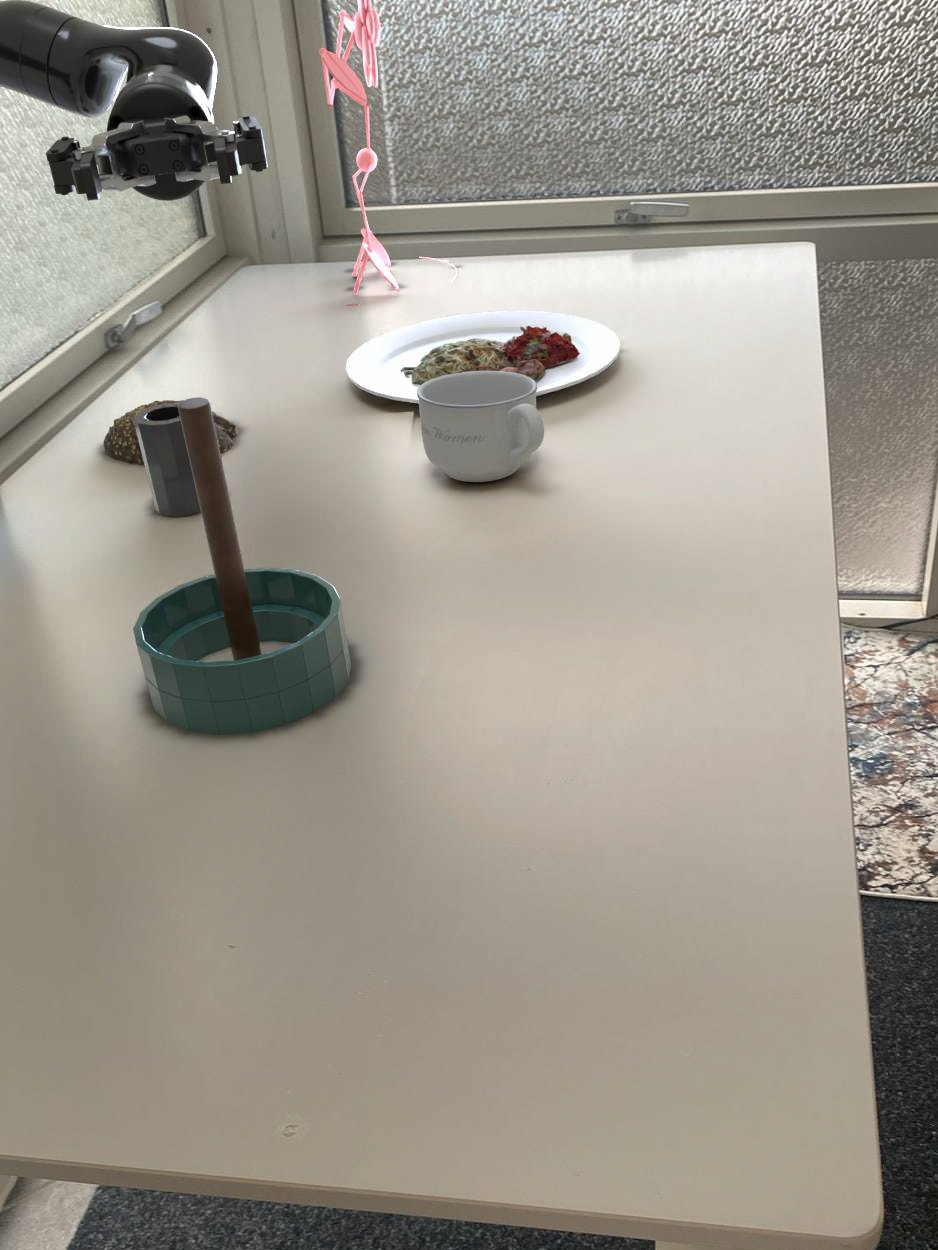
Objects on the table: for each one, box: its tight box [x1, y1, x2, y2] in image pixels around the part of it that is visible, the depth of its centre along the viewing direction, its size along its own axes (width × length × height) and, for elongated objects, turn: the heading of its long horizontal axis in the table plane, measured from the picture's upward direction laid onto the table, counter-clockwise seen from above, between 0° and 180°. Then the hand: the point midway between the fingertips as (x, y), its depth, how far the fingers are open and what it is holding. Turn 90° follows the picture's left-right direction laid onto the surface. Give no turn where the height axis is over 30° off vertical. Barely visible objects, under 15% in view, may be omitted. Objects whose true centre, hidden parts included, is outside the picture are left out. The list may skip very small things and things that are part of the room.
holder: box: [134, 403, 201, 518], centre depth 119 cm, size 5×5×9 cm
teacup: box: [417, 371, 545, 483], centre depth 121 cm, size 14×11×8 cm
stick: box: [178, 397, 263, 660], centre depth 89 cm, size 2×2×20 cm
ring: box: [132, 566, 352, 735], centre depth 94 cm, size 14×14×6 cm
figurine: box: [318, 0, 461, 307], centre depth 167 cm, size 15×26×35 cm, turn 5°
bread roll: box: [103, 399, 238, 466], centre depth 134 cm, size 13×12×5 cm
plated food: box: [345, 310, 621, 404], centre depth 146 cm, size 30×30×3 cm
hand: (155, 174), depth 85 cm, fingers open, 8 cm apart
